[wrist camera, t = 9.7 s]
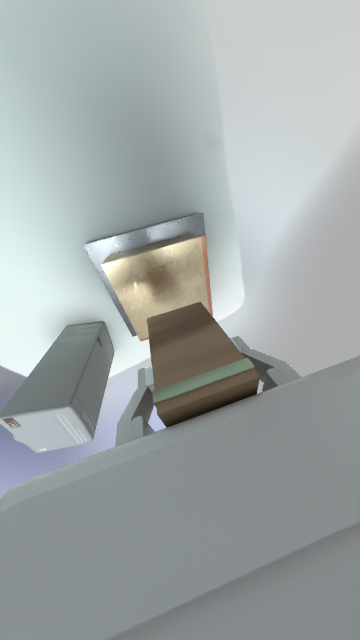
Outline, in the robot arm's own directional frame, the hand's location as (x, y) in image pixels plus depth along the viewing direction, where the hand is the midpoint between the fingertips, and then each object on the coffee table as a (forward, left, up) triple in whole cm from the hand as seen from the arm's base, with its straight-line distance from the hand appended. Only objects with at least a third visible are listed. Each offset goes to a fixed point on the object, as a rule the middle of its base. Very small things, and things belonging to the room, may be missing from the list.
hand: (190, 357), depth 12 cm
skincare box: (+7, -16, -18) cm, 25 cm away
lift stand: (0, 0, -17) cm, 17 cm away
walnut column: (0, 0, -4) cm, 4 cm away
